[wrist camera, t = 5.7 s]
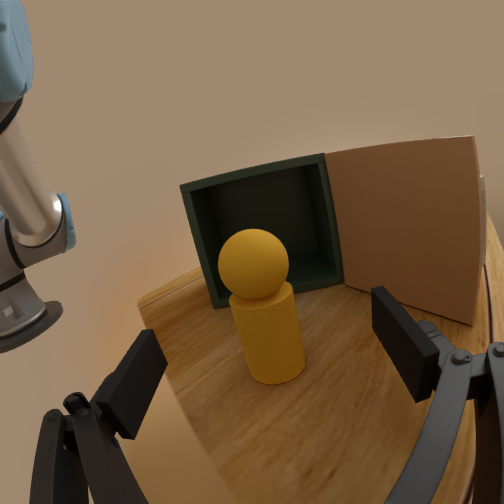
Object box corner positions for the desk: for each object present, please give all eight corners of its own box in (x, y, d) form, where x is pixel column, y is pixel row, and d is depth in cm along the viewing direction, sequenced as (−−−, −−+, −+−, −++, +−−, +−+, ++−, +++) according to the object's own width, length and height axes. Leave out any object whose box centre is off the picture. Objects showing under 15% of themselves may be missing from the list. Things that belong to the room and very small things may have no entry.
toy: (253, 391, 18) (209, 247, 16) (245, 357, 23) (210, 233, 20) (314, 374, 19) (289, 227, 16) (297, 342, 23) (272, 217, 20)
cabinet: (346, 282, 32) (325, 152, 28) (213, 309, 33) (179, 185, 29) (325, 253, 43) (307, 157, 39) (225, 273, 45) (201, 180, 41)
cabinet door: (376, 266, 33) (359, 149, 30) (490, 295, 19) (488, 136, 15) (344, 284, 31) (323, 154, 27) (471, 325, 17) (471, 135, 13)
